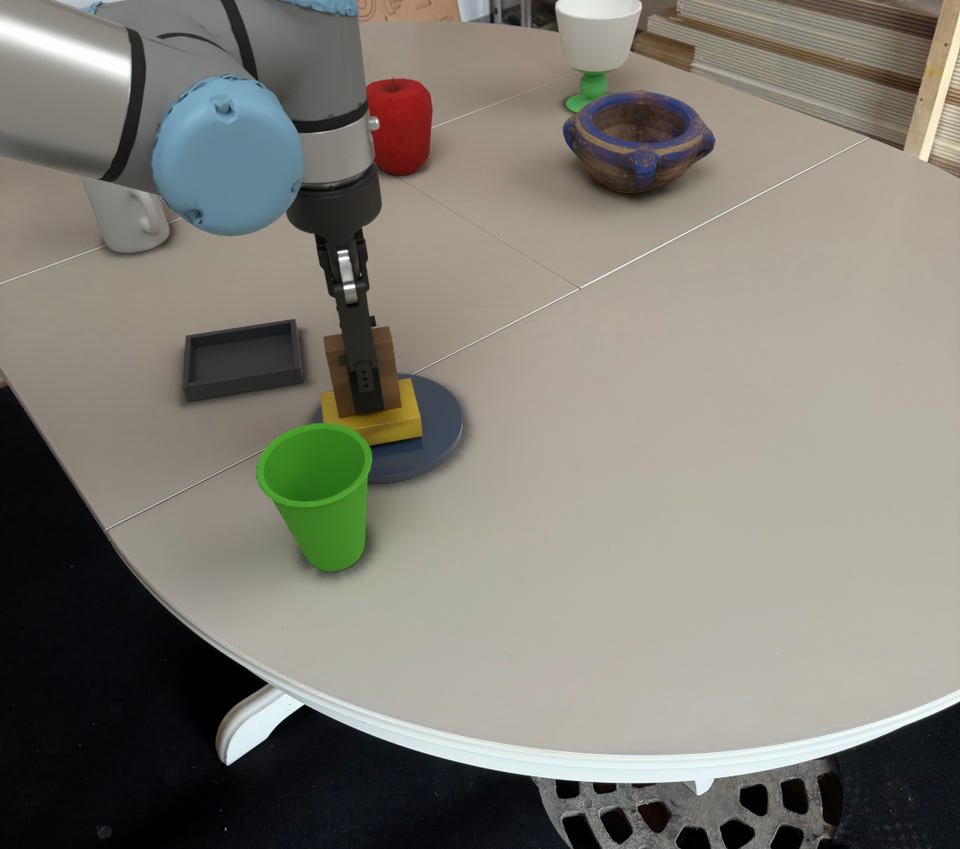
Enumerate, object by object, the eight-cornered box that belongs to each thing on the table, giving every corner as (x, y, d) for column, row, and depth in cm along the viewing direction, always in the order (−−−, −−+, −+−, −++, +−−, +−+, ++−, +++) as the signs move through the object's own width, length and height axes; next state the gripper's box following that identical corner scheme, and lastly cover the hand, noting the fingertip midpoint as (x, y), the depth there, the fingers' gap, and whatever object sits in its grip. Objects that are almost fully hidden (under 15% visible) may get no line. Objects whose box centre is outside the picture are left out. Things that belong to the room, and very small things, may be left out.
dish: (187, 402, 87) (182, 387, 85) (190, 350, 93) (185, 335, 92) (303, 382, 88) (300, 367, 87) (298, 333, 95) (295, 318, 93)
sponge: (329, 453, 78) (309, 367, 71) (324, 412, 82) (304, 327, 75) (422, 436, 79) (412, 350, 72) (412, 396, 83) (402, 311, 76)
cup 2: (537, 99, 142) (538, 0, 131) (604, 83, 146) (610, -14, 136) (579, 127, 133) (584, 24, 122) (649, 110, 137) (660, 8, 126)
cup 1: (408, 548, 71) (395, 460, 64) (324, 611, 67) (299, 524, 59) (345, 494, 76) (326, 406, 69) (263, 550, 72) (233, 462, 64)
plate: (320, 496, 76) (318, 488, 76) (308, 393, 87) (307, 386, 86) (477, 467, 78) (476, 459, 78) (447, 370, 89) (446, 363, 88)
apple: (440, 152, 128) (434, 63, 119) (431, 183, 121) (423, 90, 111) (374, 152, 129) (362, 63, 120) (360, 182, 122) (347, 90, 112)
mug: (94, 239, 112) (63, 163, 105) (149, 215, 116) (124, 140, 109) (139, 270, 106) (111, 192, 98) (196, 243, 110) (173, 167, 103)
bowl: (625, 225, 110) (633, 154, 103) (547, 174, 122) (548, 107, 115) (723, 187, 117) (736, 118, 110) (640, 143, 128) (646, 78, 121)
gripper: (390, 208, 57) (420, 447, 73) (364, 120, 68) (394, 344, 84) (282, 224, 56) (336, 462, 72) (273, 131, 67) (321, 356, 83)
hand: (367, 398), depth 78 cm, fingers closed on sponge, 2 cm apart
